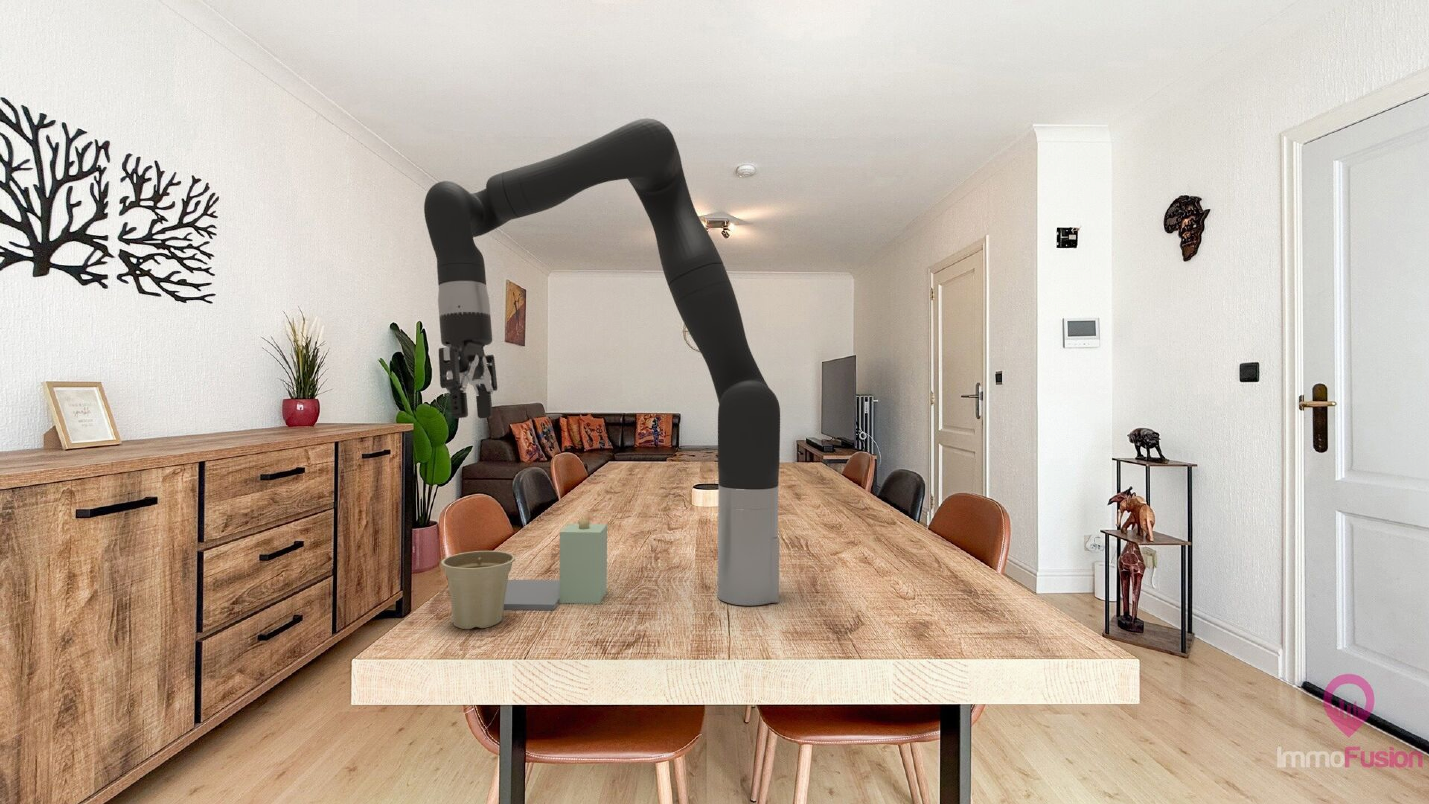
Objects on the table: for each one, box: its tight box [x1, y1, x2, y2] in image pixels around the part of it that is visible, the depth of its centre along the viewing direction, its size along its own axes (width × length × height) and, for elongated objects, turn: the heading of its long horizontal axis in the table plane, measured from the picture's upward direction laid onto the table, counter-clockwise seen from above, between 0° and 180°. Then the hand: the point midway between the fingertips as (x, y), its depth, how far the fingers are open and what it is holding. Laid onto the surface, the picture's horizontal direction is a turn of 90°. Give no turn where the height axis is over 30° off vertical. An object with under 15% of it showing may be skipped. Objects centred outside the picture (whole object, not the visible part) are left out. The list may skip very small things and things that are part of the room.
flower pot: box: [440, 550, 516, 630], centre depth 88 cm, size 9×9×9 cm
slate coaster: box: [503, 579, 560, 611], centre depth 99 cm, size 12×12×1 cm
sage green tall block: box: [558, 518, 608, 605], centre depth 99 cm, size 6×6×12 cm
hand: (473, 417), depth 101 cm, fingers open, 8 cm apart
